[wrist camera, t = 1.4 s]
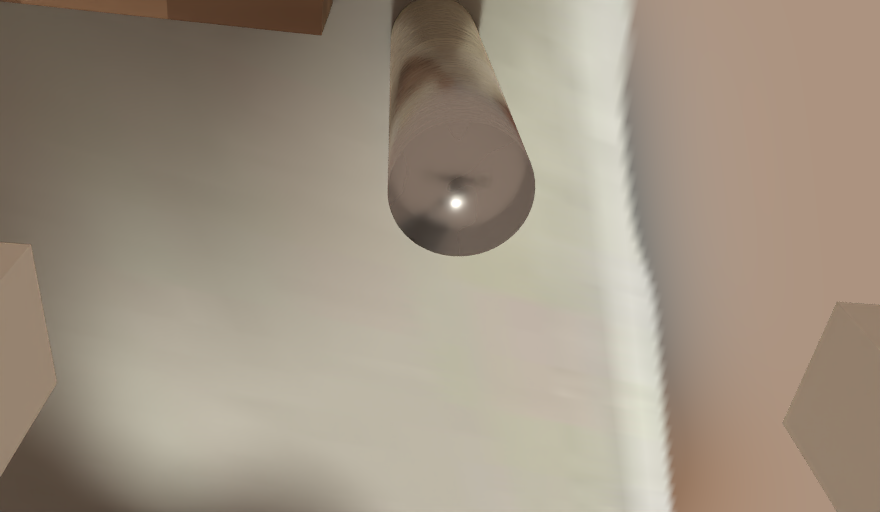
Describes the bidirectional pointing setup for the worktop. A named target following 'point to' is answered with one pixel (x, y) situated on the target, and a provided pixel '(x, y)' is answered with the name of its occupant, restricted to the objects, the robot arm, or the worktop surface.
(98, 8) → the wooden block with hole
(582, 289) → the worktop surface
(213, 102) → the worktop surface
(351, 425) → the worktop surface
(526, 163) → the steel pin
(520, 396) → the worktop surface
